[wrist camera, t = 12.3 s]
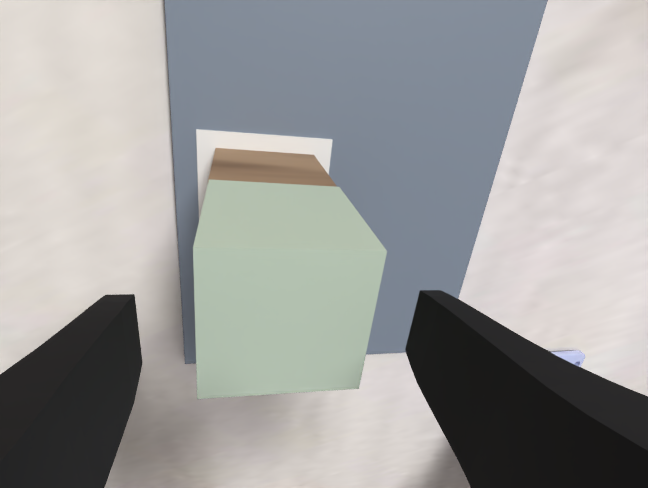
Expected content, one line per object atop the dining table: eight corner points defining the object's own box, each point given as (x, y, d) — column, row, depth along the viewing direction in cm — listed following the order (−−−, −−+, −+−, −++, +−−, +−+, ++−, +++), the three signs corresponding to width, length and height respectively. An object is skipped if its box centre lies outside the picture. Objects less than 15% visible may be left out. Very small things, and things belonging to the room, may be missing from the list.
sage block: (324, 292, 15) (358, 388, 11) (209, 293, 14) (197, 399, 10) (339, 187, 14) (387, 251, 9) (208, 179, 13) (193, 247, 8)
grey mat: (438, 344, 26) (443, 351, 25) (186, 356, 22) (184, 364, 22) (540, -7, 18) (551, -9, 17) (162, -75, 14) (159, -81, 13)
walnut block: (305, 240, 20) (324, 293, 16) (216, 238, 19) (209, 295, 15) (313, 154, 18) (338, 188, 14) (215, 147, 17) (207, 181, 13)
